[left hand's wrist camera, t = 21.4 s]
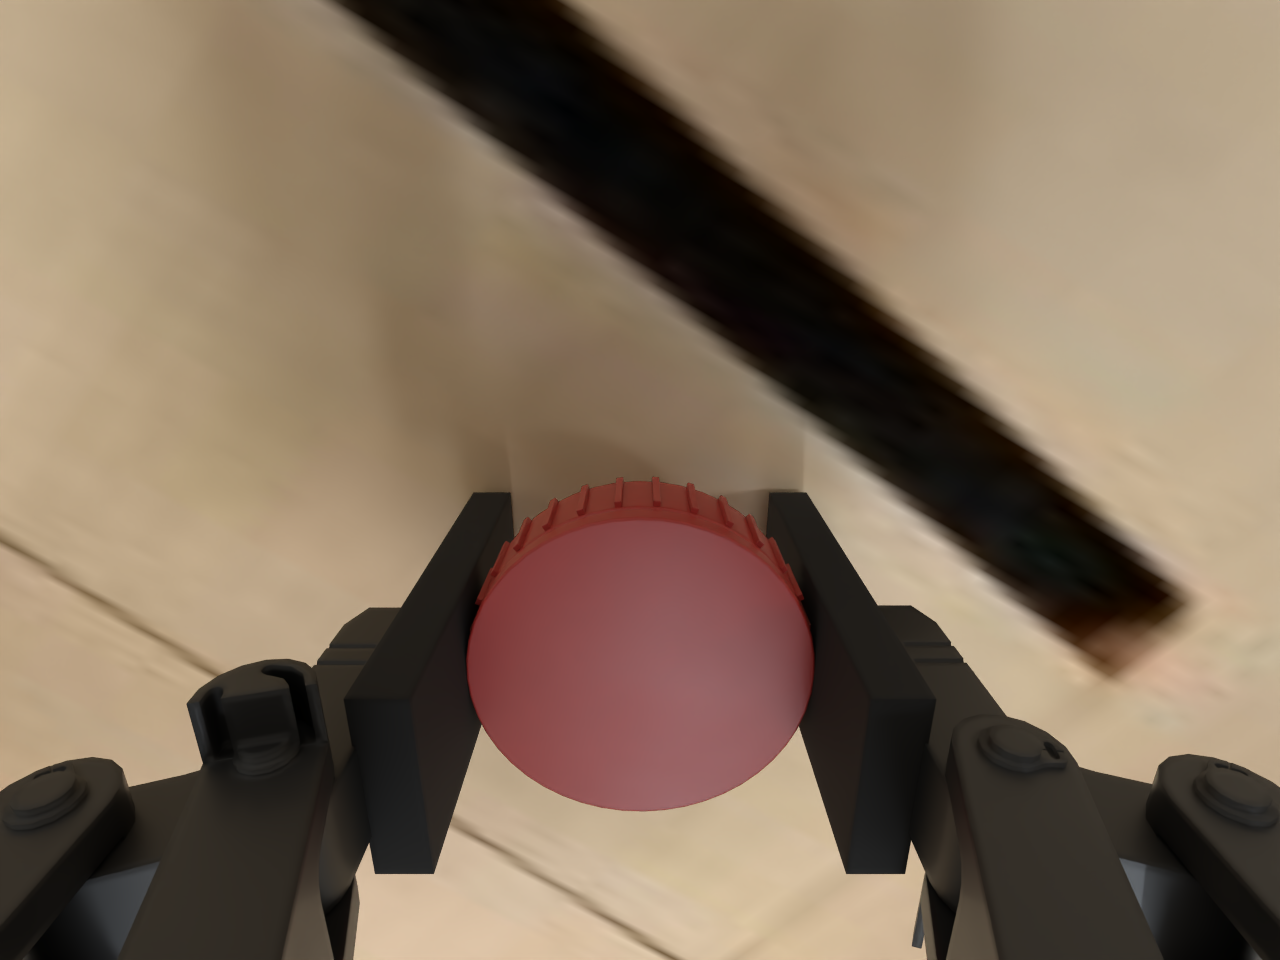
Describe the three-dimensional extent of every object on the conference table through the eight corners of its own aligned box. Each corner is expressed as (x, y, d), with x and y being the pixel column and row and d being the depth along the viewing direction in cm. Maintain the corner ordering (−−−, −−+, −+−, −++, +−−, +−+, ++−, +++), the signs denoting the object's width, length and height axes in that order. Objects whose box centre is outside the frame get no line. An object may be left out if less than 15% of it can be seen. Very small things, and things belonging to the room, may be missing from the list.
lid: (433, 674, 12) (405, 735, 11) (571, 414, 11) (561, 444, 9) (695, 789, 13) (702, 860, 12) (861, 567, 11) (893, 616, 10)
